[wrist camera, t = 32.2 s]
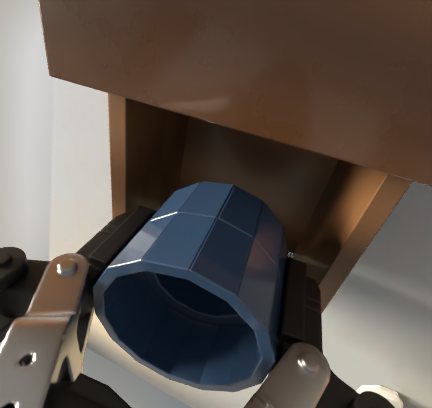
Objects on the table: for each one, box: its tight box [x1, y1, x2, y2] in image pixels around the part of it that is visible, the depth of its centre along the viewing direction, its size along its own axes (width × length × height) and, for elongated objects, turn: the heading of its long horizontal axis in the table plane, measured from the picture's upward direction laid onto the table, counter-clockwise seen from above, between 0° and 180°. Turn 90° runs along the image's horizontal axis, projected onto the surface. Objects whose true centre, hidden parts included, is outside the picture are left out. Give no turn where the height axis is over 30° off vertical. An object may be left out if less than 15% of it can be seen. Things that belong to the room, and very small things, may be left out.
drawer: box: [108, 93, 412, 314], centre depth 17 cm, size 20×13×8 cm, turn 169°
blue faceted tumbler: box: [92, 181, 288, 392], centre depth 11 cm, size 6×6×6 cm
